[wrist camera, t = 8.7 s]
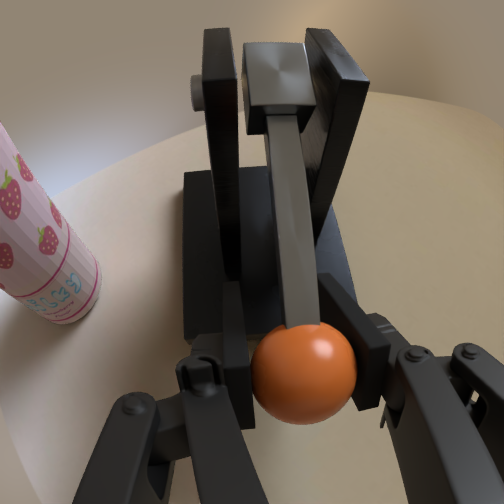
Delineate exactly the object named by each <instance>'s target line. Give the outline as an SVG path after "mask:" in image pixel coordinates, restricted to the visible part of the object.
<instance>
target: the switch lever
mask: <svg viewBox="0 0 504 504" xmlns="http://www.w3.org/2000/svg"><path fill="white" fill-rule="evenodd" d="M241 80H242V90H243V101H244V111H245V122H246V133H247V135H261V134H264V142H265V151H266V160H267V169H268V179H269V188H270V198H271V208H272V219H273V229H274V240H275V250H276V261H277V273H278V284H279V296H280V308H281V321H282V325H280V326H278V327H276V328H275V329H273V330H272V331H270V332H269V333H268V334H267V335H266V336H265V337H264V338H263V339H262V340H261V342H260V343H259V344H258V346H257V347H256V349H255V351H254V353H253V356H252V359H251V362H250V371H251V383H252V391H253V394H254V396H255V398H256V400H257V401H258V403H259V404H260V405H261V407H262V408H263V409H264V410H265V411H266V412H267V413H269V414H270V415H271V416H273V417H275V418H276V419H278V420H281V421H283V422H286V423H290V424H296V425H307V424H314V423H318V422H321V421H324V420H326V419H328V418H330V417H331V416H333V415H334V414H336V413H337V412H338V411H339V410H340V409H341V408H342V407H343V406H344V405H345V404H346V403H347V402H348V400H349V399H350V397H351V395H352V393H353V391H354V388H355V385H356V381H357V374H358V368H357V360H356V356H355V353H354V350H353V348H352V347H351V345H350V343H349V342H348V340H347V339H346V338H345V337H344V336H343V335H342V334H341V333H340V332H339V331H338V330H336V329H335V328H334V327H332V326H330V325H328V324H326V323H323V322H320V310H319V296H318V283H317V272H316V260H315V250H314V240H313V230H312V221H311V212H310V203H309V195H308V187H307V179H306V172H305V164H304V157H303V150H302V143H301V136H300V133H303V132H304V130H305V128H306V126H307V124H308V122H309V120H310V118H311V116H312V114H313V112H314V110H315V108H316V106H317V100H316V95H315V90H314V85H313V81H312V76H311V71H310V67H309V63H308V58H307V54H306V50H305V45H304V43H286V42H285V43H283V42H253V43H244V44H243V57H242V76H241Z"/></svg>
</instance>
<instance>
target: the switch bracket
mask: <svg viewBox="0 0 504 504" xmlns="http://www.w3.org/2000/svg"><path fill="white" fill-rule="evenodd" d="M304 45H305V50H306V54H307V58H308V63H309V67H310V71H311V76H312V81H313V85H314V90H315V95H316V100H317V106H316V108H315V110H314V112H313V114H312V116H311V118H310V120H309V122H308V124H307V126H306V128H305V130H304V132H303V133H300V136H301V143H302V150H303V157H304V164H305V172H306V179H307V187H308V195H309V203H310V212H311V221H312V230H313V240H314V250H315V260H316V272H317V274H318V273H328V272H330V274H331V275H332V276H333V277H334V278H335V279H336V280H337V281H338V283H339V284H340V285H341V286H342V287H343V288H344V289H345V291H346V292H347V293H348V294H349V295H350V296H351V297H352V299H353V300H354V301H355V302H356V303H357V298H356V294H355V290H354V285H353V281H352V277H351V273H350V269H349V265H348V261H347V257H346V253H345V250H344V246H343V242H342V238H341V235H340V231H339V228H338V224H337V220H336V217H335V214H334V210H333V207H332V200H333V197H334V194H335V192H336V189H337V186H338V183H339V180H340V177H341V174H342V171H343V168H344V165H345V162H346V159H347V156H348V153H349V150H350V147H351V144H352V141H353V137H354V134H355V131H356V128H357V125H358V121H359V118H360V115H361V112H362V108H363V105H364V102H365V98H366V95H367V92H368V88H369V84H370V81H369V80H368V78H367V77H366V75H365V74H364V73H363V71H362V70H361V69H360V67H359V66H358V65H357V63H356V62H355V61H354V60H353V58H352V57H351V55H349V53H348V52H347V51H346V49H345V48H344V47H343V45H342V44H341V43H340V42H339V40H338V39H337V38H336V37H335V36H334V35H333V33H332V32H331V31H330V30H327V29H316V28H307V29H306V36H305V44H304ZM237 93H238V92H237V74H236V67H235V60H234V54H233V47H232V40H231V34H230V28H214V29H205V30H204V37H203V55H202V74H201V75H193V76H191V100H192V107H193V110H194V111H195V112H196V111H205V121H206V130H207V139H208V148H209V156H210V165H211V170H204V171H194V172H185V173H184V188H183V234H182V276H183V321H184V339H185V340H186V342H187V343H188V344H189V345H192V342H193V341H194V339H195V338H196V337H197V336H198V335H199V334H209V333H223V282H232V281H239V286H240V294H241V301H242V309H243V317H244V324H245V332H246V339H247V340H258V339H263V338H264V337H265V336H266V335H267V334H268V333H269V332H270V331H272V330H273V329H275V328H276V327H278V326H280V325H282V321H281V308H280V296H279V284H278V273H277V261H276V250H275V240H274V229H273V219H272V208H271V198H270V188H269V179H268V169H267V166H256V167H241V168H239V145H238V94H237ZM357 304H358V303H357Z"/></svg>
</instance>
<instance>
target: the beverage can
mask: <svg viewBox="0 0 504 504" xmlns="http://www.w3.org/2000/svg"><path fill="white" fill-rule="evenodd" d="M101 281H102V275H101V268H100V266H99V263H98V261H97V260H96V258H95V257H94V255H93V254H92V253H91V252H90V251H89V249H88V248H87V247H86V246H85V244H84V243H83V242H82V241H81V239H80V238H79V237H78V235H77V234H76V233H75V232H74V230H73V229H72V228H71V226H70V225H69V224H68V223H67V221H66V220H65V219H64V217H63V216H62V215H61V213H60V212H59V210H58V209H57V208H56V206H55V205H54V204H53V202H52V201H51V199H50V198H49V197H48V195H47V194H46V192H45V191H44V190H43V188H42V187H41V185H40V184H39V182H38V181H37V179H36V178H35V176H34V175H33V173H32V172H31V170H30V169H29V167H28V166H27V164H26V163H25V161H24V160H23V158H22V157H21V155H20V153H19V152H18V150H17V149H16V147H15V145H14V144H13V142H12V140H11V139H10V137H9V135H8V134H7V132H6V131H5V129H4V127H3V125H2V124H1V122H0V288H1V289H2V290H4V291H5V292H6V293H8V294H9V295H11V296H12V297H13V298H15V299H16V300H18V301H19V302H21V303H22V304H24V305H25V306H27V307H28V308H30V309H31V310H33V311H34V312H36V313H37V314H39V315H40V316H42V317H44V318H45V319H47V320H48V321H50V322H53V323H56V324H68V323H72V322H74V321H76V320H78V319H80V318H81V317H83V316H84V315H85V314H86V313H87V312H88V311H89V310H90V309H91V308H92V306H93V305H94V303H95V302H96V299H97V297H98V295H99V292H100V288H101Z"/></svg>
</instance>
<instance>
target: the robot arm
mask: <svg viewBox="0 0 504 504" xmlns="http://www.w3.org/2000/svg"><path fill="white" fill-rule="evenodd" d="M317 283H318V296H319V310H320V322H323V323H326V324H328V325H330V326H332V327H334V328H335V329H336V330H338V331H339V332H340V333H341V334H342V335H343V336H344V337H345V338H346V339H347V340H348V342H349V343H350V345H351V347H352V348H353V350H354V353H355V356H356V360H357V368H358V374H357V381H356V385H355V388H354V391H353V393H352V395H351V397H352V399H353V401H354V403H355V405H356V407H357V409H358V411H362V410H367V409H371V408H375V407H378V406H379V402H380V397H381V395H382V397H383V398H384V400H385V401H386V404H385V408H384V411H383V415H382V419H381V422H380V428H383V426H384V423H385V420H386V422H387V427H388V429H389V432H390V435H391V439H392V442H393V446H394V449H395V453H396V457H397V460H398V464H399V468H400V471H401V475H402V479H403V483H404V487H405V491H406V495H407V499H408V503H409V504H504V365H503V364H502V363H500V362H499V361H498V360H497V359H495V358H494V357H493V356H492V355H490V354H489V353H488V352H487V351H485V350H484V349H483V348H481V347H480V346H478V345H475V344H472V343H462V344H459V345H457V346H455V348H454V350H453V353H452V356H444V357H435V356H434V355H433V353H432V352H431V351H430V350H428V349H426V348H424V347H422V346H417V345H410V344H409V343H408V341H407V340H406V339H405V338H404V337H403V336H402V335H401V334H400V333H399V332H398V331H396V329H395V327H394V326H393V325H391V323H390V322H389V321H388V320H387V319H386V318H385V317H383V316H381V315H379V314H377V313H373V314H365V312H364V311H363V310H362V309H361V308H360V307H359V305H358V304H357V303H356V302H355V301H354V300H353V299H352V297H351V296H350V295H349V294H348V293H347V292H346V291H345V289H344V288H343V287H342V286H341V285H340V284H339V283H338V281H337V280H336V279H335V278H334V277H333V276H332V275H331V274H330V272H328V273H318V274H317ZM191 350H192V351H191V356H188V357H186V358H184V359H182V360H181V361H180V362H179V363H178V364H177V365H176V370H175V371H176V375H177V380H178V384H179V388H180V391H181V392H180V393H178V394H176V395H175V396H173V397H170V398H166V399H162V400H158V401H155V399H154V398H153V396H151V395H149V394H147V393H143V392H131V393H128V394H125V395H123V396H122V397H120V398H119V399H117V401H116V402H115V403H114V405H113V407H112V409H111V411H110V414H109V416H108V418H107V420H106V423H105V425H104V427H103V429H102V432H101V434H100V436H99V439H98V441H97V443H96V445H95V448H94V450H93V453H92V455H91V457H90V460H89V462H88V465H87V467H86V469H85V472H84V474H83V477H82V479H81V482H80V484H79V487H78V489H77V492H76V494H75V497H74V500H73V502H72V504H168V501H169V495H170V489H171V484H172V478H173V473H174V467H175V462H176V460H178V459H182V458H186V457H189V456H191V459H192V465H193V470H194V475H195V480H196V485H197V490H198V494H199V499H200V503H201V504H269V503H268V501H267V498H266V496H265V493H264V491H263V488H262V486H261V483H260V481H259V478H258V475H257V473H256V470H255V468H254V465H253V462H252V460H251V457H250V454H249V452H248V449H247V446H246V444H245V441H244V438H243V435H242V432H241V430H244V429H255V417H254V406H253V394H252V383H251V371H250V362H249V354H248V347H247V339H246V332H245V324H244V317H243V309H242V301H241V294H240V286H239V281H232V282H223V333H209V334H199V335H198V336H197V337H196V338H195V339H194V341H193V342H192V349H191ZM474 390H475V391H476V392H477V393H478V394H479V397H478V399H477V401H476V402H474V401H473V400H472V399H471V397H472V394H473V392H474Z"/></svg>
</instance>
